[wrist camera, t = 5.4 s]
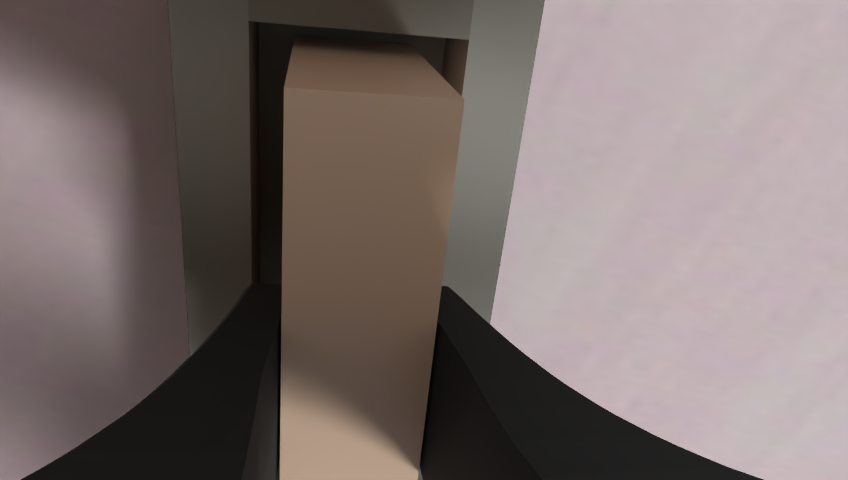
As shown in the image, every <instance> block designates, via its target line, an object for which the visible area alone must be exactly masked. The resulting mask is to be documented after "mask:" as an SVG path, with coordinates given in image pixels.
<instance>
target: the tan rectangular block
mask: <svg viewBox="0 0 848 480" xmlns="http://www.w3.org/2000/svg"><path fill="white" fill-rule="evenodd" d="M464 101H465V99H464V98H463V97H462V96H461V95H460V94H459V93H458V92H457V91H456V90H455V89H454V88H453V87H452V86H451V85H450V84H449V83H448V82H447V81H446V80H445V79H444V78H443V77H442V76H441V75H440V74H439V73H438V72H437V71H436V70H435V69H434V68H433V67H432V66H431V65H430V64H429V63H428V61H427V60H426V59H425V58H424V57H423V56H422V55H421V54H420V53H419V52H418V51H417V50H416V49H415V48H414V47H413V46H412V45H411V44H403V43H391V42H379V41H367V40H355V39H343V38H330V37H318V36H306V35H295V38H294V43H293V47H292V52H291V57H290V61H289V66H288V71H287V75H286V80H285V85H284V128H283V221H282V314H281V407H280V480H418V473H419V465H420V457H421V449H422V441H423V432H424V424H425V416H426V408H427V400H428V392H429V384H430V376H431V368H432V360H433V352H434V344H435V336H436V328H437V319H438V311H439V303H440V295H441V287H442V279H443V271H444V263H445V255H446V247H447V239H448V231H449V223H450V214H451V206H452V198H453V190H454V182H455V174H456V166H457V158H458V150H459V142H460V134H461V126H462V118H463V109H464Z"/></svg>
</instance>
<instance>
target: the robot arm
mask: <svg viewBox="0 0 848 480" xmlns="http://www.w3.org/2000/svg"><path fill="white" fill-rule="evenodd" d="M281 314H282V284H263V283H252V284H251V285H249V286H248V287H247V288H246V289H245V290H244V292H243V293H242V295H241V296H240V298H239V299H238V301H237V302H236V303H235V305H234V306H233V307H232V309H231V310H230V311H229V312H228V314H227V315H226V316H225V318H224V319H223V320H222V321H221V323H220V324H219V325H218V326H217V327H216V328H215V329H214V331H213V332H212V333H211V334H210V335H209V336H208V338H207V339H206V340H205V341H204V342H203V343H202V344H201V345H200V347H199V348H198V349H197V350H196V351H195V352H194V353H193V354H192V355H191V356H190V357H189V358H188V359H187V360H186V361H185V362H184V363H183V364H182V365H181V366H180V367H179V368H178V369H177V370H176V371H175V372H174V373H173V374H172V375H171V376H170V377H169V378H168V379H167V380H165V381H164V382H163V383H162V384H161V385H160V386H159V387H158V388H156V389H155V390H154V391H153V392H152V393H151V394H150V395H148V396H147V397H146V398H145V399H144V400H142V401H141V402H140V403H139V404H137V405H136V406H135V407H134V408H132V409H131V410H130V411H129V412H127V413H126V414H125V415H123V416H122V417H121V418H119V419H118V420H116V421H115V422H113V423H112V424H110V425H109V426H107V427H106V428H104V429H103V430H101V431H100V432H98V433H97V434H95V435H94V436H92V437H91V438H90V439H88V440H87V441H85V442H84V443H82V444H81V445H79V446H78V447H76V448H75V449H73V450H71V451H70V452H68V453H67V454H65V455H63V456H62V457H60V458H58V459H56V460H55V461H53V462H51V463H50V464H48V465H46V466H45V467H43V468H41V469H39V470H38V471H36V472H34V473H32V474H30V475H28V476H27V477H25V478H23V479H21V480H276V479H277V473H278V467H279V461H280V407H281ZM419 466H420V470H421V474H422V478H423V480H763V479H760V478H757V477H754V476H751V475H749V474H746V473H743V472H740V471H737V470H734V469H731V468H729V467H726V466H724V465H721V464H719V463H716V462H714V461H711V460H709V459H707V458H704V457H702V456H700V455H697V454H695V453H693V452H690V451H688V450H685V449H683V448H681V447H678V446H676V445H674V444H672V443H670V442H668V441H666V440H663V439H661V438H659V437H657V436H655V435H653V434H651V433H649V432H647V431H645V430H643V429H641V428H639V427H637V426H636V425H634V424H632V423H630V422H628V421H626V420H624V419H622V418H620V417H618V416H616V415H615V414H613V413H611V412H609V411H608V410H606V409H604V408H602V407H601V406H599V405H597V404H596V403H594V402H592V401H591V400H589V399H588V398H586V397H585V396H583V395H581V394H580V393H578V392H577V391H575V390H574V389H572V388H570V387H569V386H567V385H566V384H564V383H563V382H561V381H560V380H558V379H557V378H556V377H554V376H553V375H551V374H550V373H549V372H547V371H546V370H545V369H543V368H542V367H541V366H539V365H538V364H537V363H535V362H534V361H533V360H532V359H530V358H529V357H528V356H526V355H525V354H524V353H523V352H521V351H520V350H519V349H518V348H516V347H515V346H514V345H513V344H512V343H510V342H509V341H508V340H507V339H506V338H505V337H503V336H502V335H501V334H500V333H499V332H498V331H497V330H495V329H494V328H493V327H492V326H491V325H490V324H489V323H488V322H487V321H486V320H484V319H483V318H482V317H481V316H480V315H479V314H478V313H477V312H476V311H475V310H474V309H473V308H471V307H470V306H469V305H468V304H467V303H466V302H465V301H464V300H463V299H462V298H461V297H460V296H459V295H458V294H456V293H455V292H454V291H453V290H452V289H451V288H450V287H448V286H442V287H441V295H440V303H439V311H438V319H437V328H436V336H435V344H434V352H433V360H432V368H431V376H430V384H429V392H428V400H427V408H426V416H425V424H424V432H423V441H422V449H421V457H420V465H419Z"/></svg>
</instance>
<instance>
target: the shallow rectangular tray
mask: <svg viewBox="0 0 848 480" xmlns="http://www.w3.org/2000/svg"><path fill="white" fill-rule="evenodd" d="M544 1H545V0H168V14H169V30H170V46H171V62H172V78H173V94H174V110H175V126H176V143H177V159H178V175H179V191H180V207H181V223H182V239H183V255H184V272H185V288H186V304H187V320H188V336H189V352H190V356H191V355H192V354H193V353H194V352H195V351H196V350H197V349H198V348H199V347H200V345H201V344H202V343H203V342H204V341H205V340H206V339H207V338H208V336H209V335H210V334H211V333H212V332H213V331H214V329H215V328H216V327H217V326H218V325H219V324H220V323H221V321H222V320H223V319H224V318H225V316H226V315H227V314H228V312H229V311H230V310H231V309H232V307H233V306H234V305H235V303H236V302H237V301H238V299H239V298H240V296H241V295H242V293H243V292H244V290H245V289H246V288H247V287H248V286H249V285H251V284H252V283H263V284H282V221H283V128H284V85H285V80H286V75H287V71H288V66H289V61H290V57H291V52H292V47H293V43H294V38H295V35H306V36H318V37H330V38H343V39H355V40H367V41H379V42H391V43H403V44H411V45H412V46H413V47H414V48H415V49H416V50H417V51H418V52H419V53H420V54H421V55H422V56H423V57H424V58H425V59H426V60H427V61H428V63H429V64H430V65H431V66H432V67H433V68H434V69H435V70H436V71H437V72H438V73H439V74H440V75H441V76H442V77H443V78H444V79H445V80H446V81H447V82H448V83H449V84H450V85H451V86H452V87H453V88H454V89H455V90H456V91H457V92H458V93H459V94H460V95H461V96H462V97H463V98H464V99H465V101H464V109H463V118H462V126H461V134H460V142H459V150H458V158H457V166H456V174H455V182H454V190H453V198H452V206H451V214H450V223H449V231H448V239H447V247H446V255H445V263H444V271H443V279H442V286H448V287H450V288H451V289H452V290H453V291H454V292H455V293H456V294H458V295H459V296H460V297H461V298H462V299H463V300H464V301H465V302H466V303H467V304H468V305H469V306H470V307H471V308H473V309H474V310H475V311H476V312H477V313H478V314H479V315H480V316H481V317H482V318H483V319H484V320H486V321H487V322H488V323H489V324H490V320H491V314H492V308H493V302H494V296H495V290H496V284H497V278H498V273H499V267H500V261H501V255H502V249H503V243H504V237H505V231H506V225H507V219H508V214H509V208H510V202H511V196H512V190H513V184H514V178H515V172H516V166H517V160H518V155H519V149H520V143H521V137H522V131H523V125H524V119H525V113H526V107H527V101H528V96H529V90H530V84H531V78H532V72H533V66H534V60H535V54H536V48H537V42H538V37H539V31H540V25H541V19H542V13H543V7H544ZM276 480H280V461H279V467H278V473H277V479H276ZM418 480H423V478H422V474H421V470H420V466H419V473H418Z"/></svg>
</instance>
